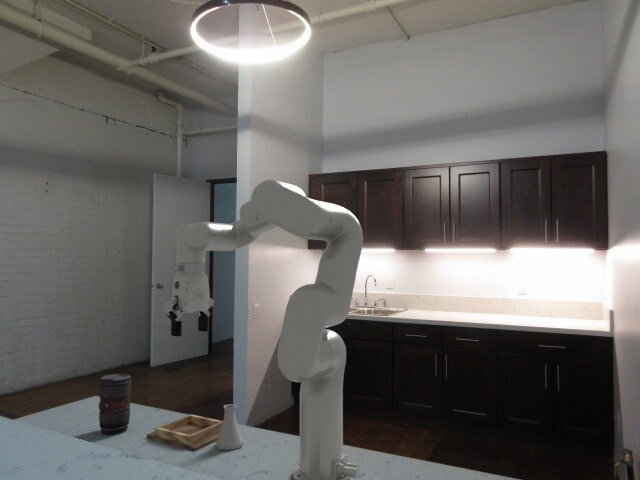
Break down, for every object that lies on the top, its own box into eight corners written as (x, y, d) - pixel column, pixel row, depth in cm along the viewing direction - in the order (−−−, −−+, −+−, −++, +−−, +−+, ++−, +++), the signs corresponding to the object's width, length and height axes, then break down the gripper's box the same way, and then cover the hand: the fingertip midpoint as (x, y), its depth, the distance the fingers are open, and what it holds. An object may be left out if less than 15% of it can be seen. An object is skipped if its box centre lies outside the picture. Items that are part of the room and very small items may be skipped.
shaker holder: (232, 433, 126) (232, 422, 126) (195, 451, 114) (195, 439, 114) (185, 422, 135) (186, 412, 135) (146, 437, 123) (146, 427, 123)
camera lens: (118, 437, 123) (119, 380, 124) (92, 435, 125) (93, 379, 126) (136, 426, 131) (137, 373, 132) (111, 425, 133) (112, 372, 134)
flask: (215, 452, 113) (216, 411, 114) (214, 441, 120) (214, 403, 121) (245, 449, 115) (245, 408, 116) (242, 438, 122) (242, 400, 123)
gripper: (176, 270, 115) (175, 339, 114) (223, 269, 130) (222, 330, 129) (155, 270, 119) (154, 337, 118) (203, 269, 134) (202, 328, 133)
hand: (190, 333), depth 123 cm, fingers open, 9 cm apart
